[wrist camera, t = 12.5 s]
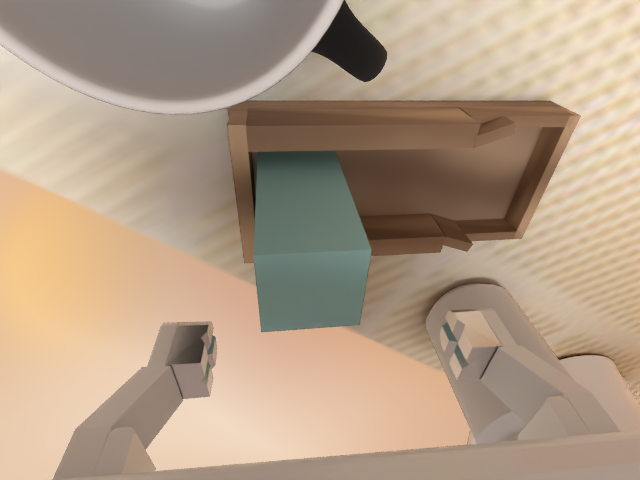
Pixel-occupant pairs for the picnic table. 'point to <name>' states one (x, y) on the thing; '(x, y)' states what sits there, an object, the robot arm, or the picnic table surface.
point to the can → (473, 396)
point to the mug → (183, 47)
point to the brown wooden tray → (413, 164)
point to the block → (307, 243)
